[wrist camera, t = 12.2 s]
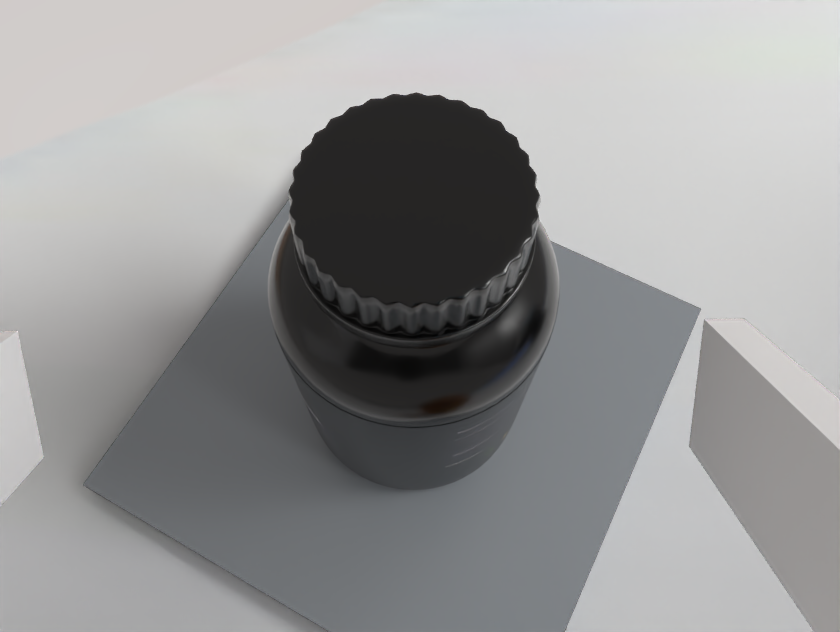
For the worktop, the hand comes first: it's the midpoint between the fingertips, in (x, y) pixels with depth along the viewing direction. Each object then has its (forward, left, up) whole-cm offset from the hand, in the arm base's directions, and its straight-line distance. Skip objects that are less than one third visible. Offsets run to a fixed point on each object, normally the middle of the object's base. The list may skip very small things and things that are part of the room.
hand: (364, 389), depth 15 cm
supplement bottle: (+1, -3, -10) cm, 11 cm away
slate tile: (+1, -3, -11) cm, 11 cm away
